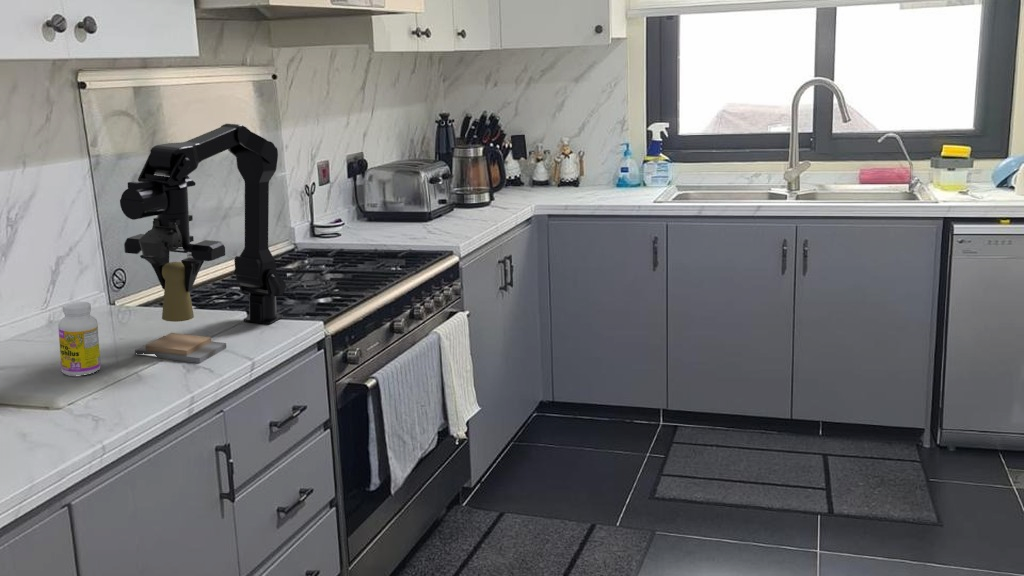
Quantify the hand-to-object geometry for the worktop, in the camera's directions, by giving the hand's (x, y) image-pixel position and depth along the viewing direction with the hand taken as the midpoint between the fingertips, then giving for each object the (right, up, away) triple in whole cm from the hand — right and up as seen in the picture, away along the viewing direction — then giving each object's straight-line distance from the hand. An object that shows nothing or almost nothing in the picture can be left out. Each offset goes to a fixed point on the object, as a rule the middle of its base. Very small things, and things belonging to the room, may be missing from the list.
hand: (176, 290), depth 192 cm
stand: (0, -12, +3) cm, 13 cm away
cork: (0, -5, +1) cm, 6 cm away
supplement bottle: (-14, -15, -10) cm, 23 cm away
